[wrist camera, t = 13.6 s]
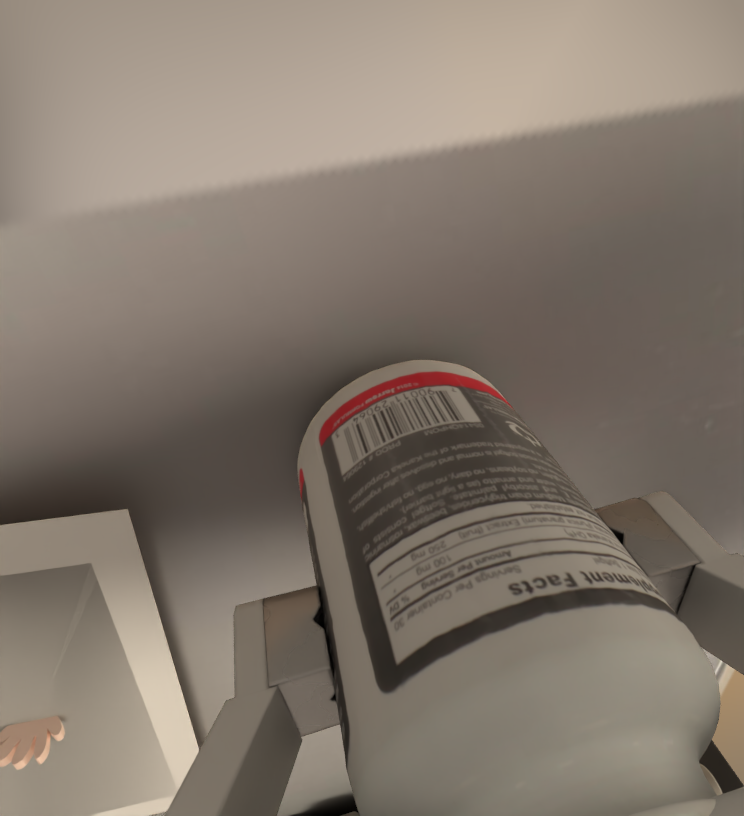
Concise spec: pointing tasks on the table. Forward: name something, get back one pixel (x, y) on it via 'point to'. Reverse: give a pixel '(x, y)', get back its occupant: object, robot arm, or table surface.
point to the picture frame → (85, 674)
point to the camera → (351, 814)
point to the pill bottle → (490, 617)
